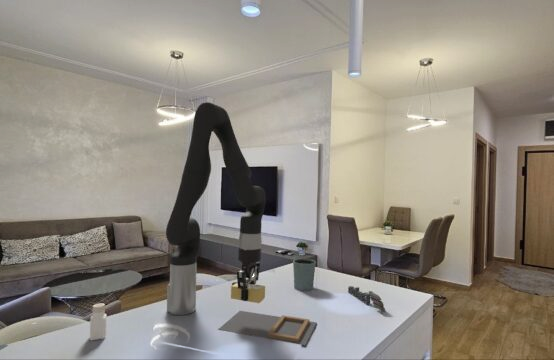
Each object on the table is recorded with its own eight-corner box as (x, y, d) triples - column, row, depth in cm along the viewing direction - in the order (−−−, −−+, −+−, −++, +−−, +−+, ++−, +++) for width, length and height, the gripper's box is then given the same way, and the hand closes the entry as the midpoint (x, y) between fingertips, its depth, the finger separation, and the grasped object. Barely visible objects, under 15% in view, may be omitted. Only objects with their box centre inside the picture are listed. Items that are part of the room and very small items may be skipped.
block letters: (385, 315, 115) (385, 299, 115) (381, 315, 114) (382, 299, 114) (351, 292, 139) (351, 279, 139) (348, 292, 138) (348, 279, 138)
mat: (217, 331, 100) (217, 326, 100) (239, 312, 115) (239, 307, 115) (305, 346, 91) (305, 341, 91) (316, 324, 106) (316, 319, 106)
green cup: (288, 285, 146) (289, 259, 146) (308, 283, 150) (308, 257, 150) (299, 292, 137) (300, 264, 137) (319, 289, 141) (320, 262, 141)
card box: (230, 298, 105) (231, 285, 105) (237, 293, 110) (238, 281, 110) (259, 303, 102) (259, 290, 102) (264, 298, 106) (265, 285, 107)
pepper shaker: (91, 335, 96) (92, 303, 96) (106, 333, 98) (107, 301, 98) (89, 341, 92) (90, 308, 92) (105, 339, 94) (106, 306, 94)
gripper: (248, 241, 114) (246, 289, 114) (229, 249, 100) (227, 303, 100) (268, 243, 111) (266, 292, 111) (251, 251, 98) (249, 307, 98)
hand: (247, 297), depth 106 cm, fingers closed on card box, 5 cm apart
